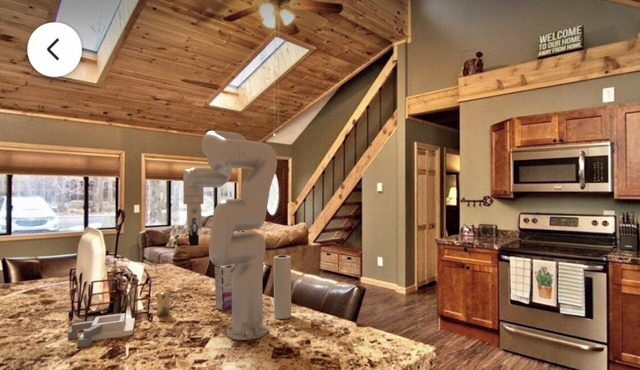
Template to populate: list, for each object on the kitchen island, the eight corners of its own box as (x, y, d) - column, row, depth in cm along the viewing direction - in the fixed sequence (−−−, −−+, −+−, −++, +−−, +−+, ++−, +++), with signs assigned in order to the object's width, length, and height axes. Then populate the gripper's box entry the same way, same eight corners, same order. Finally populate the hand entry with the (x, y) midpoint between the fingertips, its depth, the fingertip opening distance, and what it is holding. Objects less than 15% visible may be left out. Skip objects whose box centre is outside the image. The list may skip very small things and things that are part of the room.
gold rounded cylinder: (171, 316, 131) (171, 293, 131) (155, 318, 129) (155, 295, 129) (170, 311, 136) (170, 290, 136) (155, 313, 134) (155, 291, 134)
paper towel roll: (288, 320, 126) (288, 257, 126) (271, 319, 127) (271, 257, 128) (294, 313, 133) (293, 254, 133) (278, 312, 134) (277, 253, 135)
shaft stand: (131, 340, 110) (131, 326, 110) (60, 351, 103) (60, 336, 103) (134, 322, 125) (134, 310, 125) (73, 330, 118) (73, 318, 118)
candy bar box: (237, 301, 148) (237, 260, 149) (245, 303, 145) (245, 262, 146) (214, 308, 139) (214, 265, 140) (222, 311, 136) (222, 267, 137)
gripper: (205, 200, 138) (205, 246, 138) (201, 199, 154) (201, 240, 154) (184, 201, 135) (183, 247, 135) (182, 200, 151) (182, 241, 151)
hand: (193, 243), depth 144 cm, fingers open, 9 cm apart
